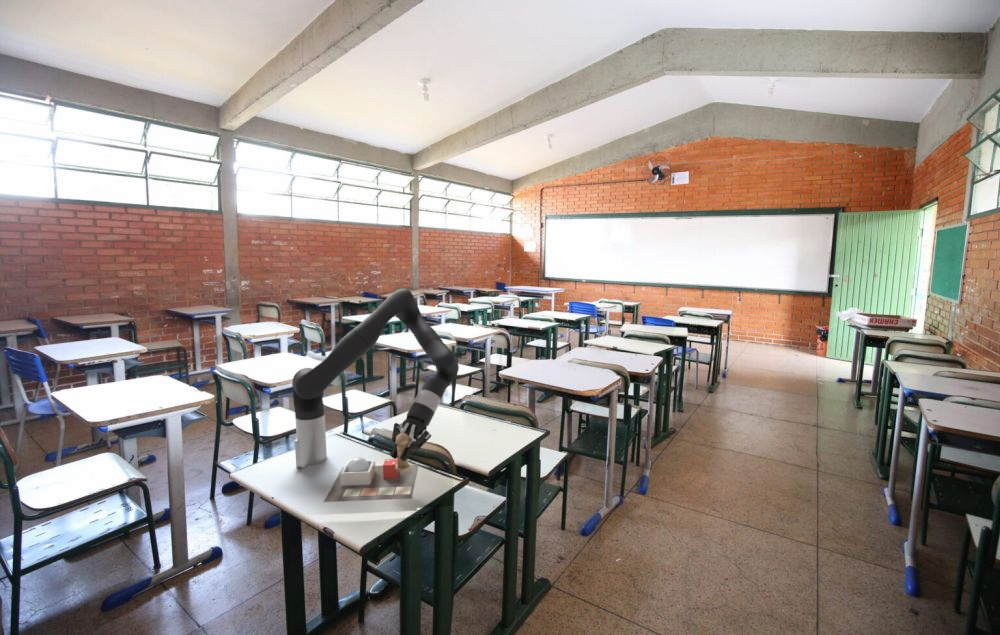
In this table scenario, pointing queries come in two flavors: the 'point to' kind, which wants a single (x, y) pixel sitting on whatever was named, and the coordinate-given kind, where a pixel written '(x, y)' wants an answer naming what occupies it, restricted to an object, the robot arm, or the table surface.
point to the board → (376, 487)
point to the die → (390, 468)
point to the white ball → (358, 465)
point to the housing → (357, 475)
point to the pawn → (401, 444)
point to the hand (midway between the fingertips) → (397, 458)
